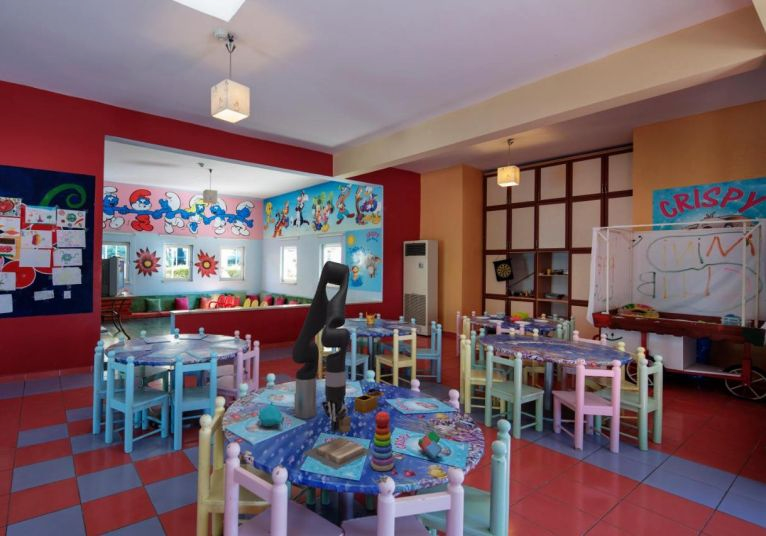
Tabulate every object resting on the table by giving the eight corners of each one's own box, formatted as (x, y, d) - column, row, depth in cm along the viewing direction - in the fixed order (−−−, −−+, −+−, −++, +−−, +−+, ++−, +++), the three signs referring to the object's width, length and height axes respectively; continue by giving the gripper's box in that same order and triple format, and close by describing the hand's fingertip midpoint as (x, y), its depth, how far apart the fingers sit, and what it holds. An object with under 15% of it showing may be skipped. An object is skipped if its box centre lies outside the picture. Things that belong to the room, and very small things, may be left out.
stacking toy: (370, 461, 144) (370, 407, 143) (392, 460, 144) (393, 407, 144) (371, 472, 136) (372, 416, 136) (395, 471, 136) (396, 415, 136)
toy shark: (269, 418, 183) (269, 394, 183) (294, 429, 171) (294, 403, 171) (249, 424, 175) (249, 399, 175) (274, 436, 163) (274, 409, 163)
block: (336, 431, 168) (336, 417, 168) (343, 429, 171) (343, 414, 171) (343, 434, 166) (343, 419, 166) (350, 431, 169) (350, 417, 169)
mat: (302, 454, 148) (302, 452, 148) (339, 438, 161) (339, 437, 161) (336, 471, 136) (336, 469, 136) (373, 453, 150) (373, 451, 150)
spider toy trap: (385, 405, 200) (385, 386, 200) (364, 414, 189) (364, 394, 189) (375, 402, 204) (375, 384, 204) (354, 410, 193) (354, 391, 193)
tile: (316, 447, 147) (339, 458, 140) (341, 437, 156) (363, 447, 149) (316, 453, 147) (339, 464, 140) (341, 443, 156) (363, 452, 149)
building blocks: (432, 463, 152) (434, 457, 142) (417, 446, 156) (417, 439, 146) (447, 448, 155) (449, 440, 145) (431, 431, 159) (432, 423, 149)
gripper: (355, 384, 148) (355, 432, 148) (331, 377, 157) (330, 422, 157) (340, 388, 143) (339, 438, 143) (315, 381, 151) (315, 428, 151)
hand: (335, 430), depth 150 cm, fingers closed
